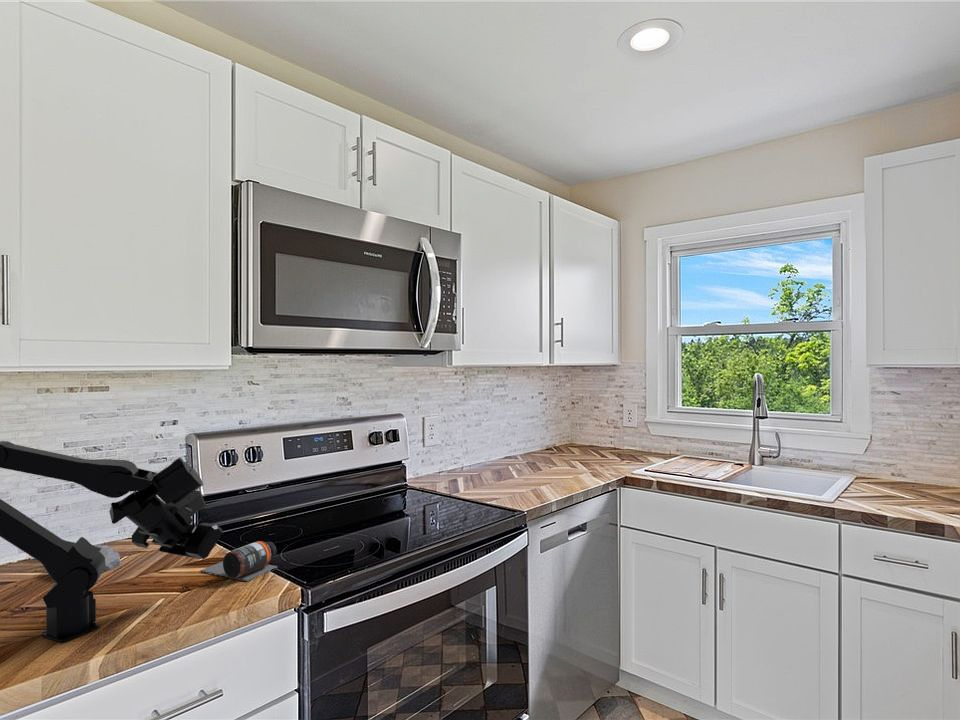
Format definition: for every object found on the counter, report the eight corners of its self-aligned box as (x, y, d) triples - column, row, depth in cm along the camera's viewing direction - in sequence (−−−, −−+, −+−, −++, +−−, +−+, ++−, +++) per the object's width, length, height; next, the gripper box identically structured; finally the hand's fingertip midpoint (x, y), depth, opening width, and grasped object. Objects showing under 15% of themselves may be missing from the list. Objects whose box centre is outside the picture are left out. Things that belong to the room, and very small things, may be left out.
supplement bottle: (220, 575, 129) (260, 559, 139) (239, 582, 127) (278, 566, 137) (222, 548, 129) (261, 534, 139) (241, 555, 126) (280, 540, 137)
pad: (247, 581, 127) (247, 580, 127) (200, 572, 133) (200, 570, 133) (277, 568, 136) (277, 566, 136) (232, 559, 141) (232, 557, 141)
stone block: (125, 573, 137) (101, 557, 142) (126, 554, 137) (102, 539, 142) (69, 593, 127) (45, 575, 132) (70, 572, 126) (46, 555, 131)
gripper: (215, 484, 112) (257, 526, 122) (145, 475, 119) (190, 516, 129) (179, 537, 105) (227, 577, 115) (107, 524, 112) (158, 563, 122)
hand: (201, 556), depth 120 cm, fingers closed
